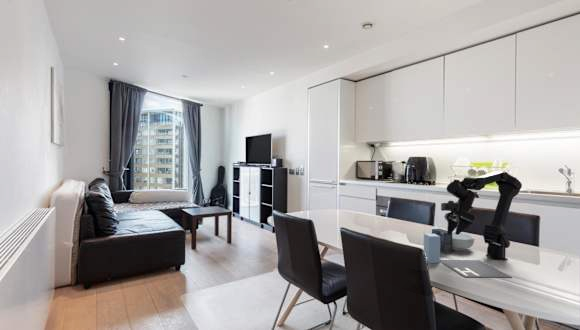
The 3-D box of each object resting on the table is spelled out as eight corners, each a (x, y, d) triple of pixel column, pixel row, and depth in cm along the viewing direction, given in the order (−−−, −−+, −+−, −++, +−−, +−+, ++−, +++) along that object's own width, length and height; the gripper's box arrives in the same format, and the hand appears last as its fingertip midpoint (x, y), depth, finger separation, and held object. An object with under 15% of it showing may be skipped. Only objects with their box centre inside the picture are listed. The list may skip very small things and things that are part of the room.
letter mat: (479, 260, 132) (479, 260, 132) (511, 277, 113) (511, 276, 113) (438, 260, 131) (438, 259, 131) (464, 277, 112) (464, 276, 112)
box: (431, 249, 149) (431, 229, 149) (439, 248, 150) (440, 228, 150) (443, 253, 141) (444, 232, 141) (452, 252, 143) (452, 231, 143)
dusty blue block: (434, 259, 133) (434, 233, 133) (439, 262, 128) (440, 236, 128) (423, 259, 133) (423, 233, 133) (428, 262, 128) (429, 236, 128)
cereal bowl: (481, 253, 142) (481, 239, 142) (447, 252, 143) (448, 238, 143) (461, 243, 159) (462, 231, 159) (431, 243, 160) (432, 230, 160)
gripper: (439, 197, 140) (427, 226, 137) (455, 192, 122) (441, 225, 119) (463, 207, 137) (451, 237, 135) (482, 203, 119) (468, 238, 117)
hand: (452, 234), depth 127 cm, fingers open, 9 cm apart
